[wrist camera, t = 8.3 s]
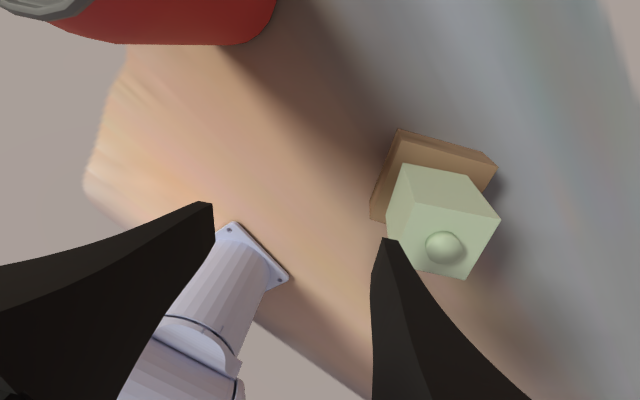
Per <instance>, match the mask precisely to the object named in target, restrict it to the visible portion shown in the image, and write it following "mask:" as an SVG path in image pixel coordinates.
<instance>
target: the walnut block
mask: <svg viewBox="0 0 640 400" xmlns="http://www.w3.org/2000/svg"><path fill="white" fill-rule="evenodd" d="M402 163H408V164H413V165H418V166H423V167H428V168H433V169H438V170H443V171H448V172H453V173H458V174H463V175H467V176H468V177H469V178H470V180H471V181H472V182H473V184H474V185H475V186H476V188H477V189H478V190H479V191H480V193H481V194H482V193H483V191H484V189H485V188H486V186H487V185H488V183H489V181H490V180H491V178H492V177H493V175H494V174H495V172H496V170H497V169H498V166H497V165H496V164H495V163H494V162H492V161H491V160H490V159H489V158H488V157H487V156H486V155H485V154H484V153H483V152H480V151H477V150H473V149H469V148H466V147H462V146H459V145H455V144H452V143H448V142H444V141H441V140H437V139H434V138H430V137H427V136H423V135H420V134H416V133H412V132H409V131H405V130H402V129H397V131H396V134H395V136H394V139H393V142H392V144H391V147H390V149H389V152H388V154H387V157H386V160H385V162H384V165H383V167H382V170H381V172H380V175H379V178H378V180H377V183H376V185H375V188H374V191H373V193H372V196H371V198H370V219H371V220H374V221H378V222H381V223H385V224H386V216H385V215H386V212H387V209H388V206H389V203H390V200H391V197H392V194H393V191H394V188H395V185H396V181H397V178H398V175H399V172H400V169H401V166H402Z"/></svg>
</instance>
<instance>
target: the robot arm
mask: <svg viewBox="0 0 640 400" xmlns="http://www.w3.org/2000/svg"><path fill="white" fill-rule="evenodd" d="M229 228H230V229H232V230H230V229H229ZM279 278H280V279H279ZM288 279H289V275H288V273H287V272H286V271H285V270H284V269H283V268H282V267H281V266H280V265H279V264H278V263H277V262H276V261H275V260H274V259H273V258H272V257H271V256H270V255H269V254H268V253H267V252H266V251H265V250H264V249H263V248H262V247H261V246H260V245H259V244H258V243H257V242H256V241H255V240H254V239H253V238H252V237H251V236H250V235H249V234H248V233H247V232H246V231H245V230H244V229H243V228H242V227H241V226H240V225H239V224H238V223H237V222H235V221H232V222H230V223H228V224H227V225H225V226H224V227H222V228H221V229H220V230H218V231H217V232H215V227H214V217H213V206H212V203H206V202H201V201H197V202H194V203H192V204H189V205H187V206H185V207H182V208H180V209H178V210H175V211H173V212H171V213H169V214H166V215H164V216H162V217H160V218H157V219H155V220H153V221H150V222H148V223H146V224H143V225H141V226H138V227H136V228H133V229H131V230H128V231H125V232H123V233H121V234H118V235H115V236H112V237H109V238H106V239H103V240H100V241H97V242H94V243H91V244H88V245H85V246H81V247H78V248H74V249H71V250H67V251H63V252H59V253H55V254H51V255H48V256H44V257H40V258H35V259H30V260H26V261H22V262H17V263H12V264H7V265H3V266H0V400H245V388H244V383H243V381H242V380H241V379H239V378H237V375H238V372H239V370H240V368H241V365H242V361H240V360H238V359H237V356H238V353H239V351H240V349H241V347H242V344H243V342H244V339H245V337H246V335H247V332H248V330H249V328H250V325H251V323H252V320H253V318H254V316H255V313H256V311H257V308H258V306H259V304H260V301H261V299H262V296H263V294H264V292H266V291H268V290H270V289H272V288H274V287H276V286H278V285H281V284H283V283H285V282H287V281H288ZM370 310H371V327H372V343H373V383H372V400H531V399H530V398H529V397H528V396H527V395H525V394H524V393H523V392H522V391H521V390H520V389H519V388H517V387H516V386H515V385H514V384H513V383H512V382H511V381H510V380H509V379H508V378H507V377H505V376H504V375H503V374H502V373H501V372H500V371H499V370H498V369H497V368H496V367H495V366H494V365H493V364H492V363H491V362H490V361H489V360H488V359H487V358H485V357H484V356H483V355H482V354H481V352H480V351H479V350H478V349H477V348H476V347H475V346H474V345H473V344H472V343H471V342H470V341H469V340H468V339H467V338H466V337H465V336H464V335H463V333H462V332H461V331H460V330H459V329H458V328H457V327H456V325H455V324H454V323H453V322H452V321H451V320H450V318H449V317H448V316H447V315H446V314H445V312H444V311H443V310H442V309H441V307H440V306H439V305H438V303H437V302H436V301H435V299H434V298H433V296H432V295H431V294H430V292H429V291H428V289H427V288H426V286H425V285H424V283H423V282H422V280H421V279H420V277H419V276H418V274H417V272H416V271H415V269H414V267H413V266H412V264H411V262H410V261H409V259H408V257H407V255H406V254H405V252H404V250H403V248H402V247H401V245H400V243H399V241H398V240H394V239H389V238H384V237H382V240H381V244H380V247H379V250H378V253H377V257H376V260H375V263H374V266H373V270H372V273H371V284H370Z"/></svg>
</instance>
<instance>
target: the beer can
mask: <svg viewBox="0 0 640 400" xmlns="http://www.w3.org/2000/svg"><path fill="white" fill-rule="evenodd" d="M276 1H277V0H0V7H2V8H4V9H6V10H8V11H9V12H11V13H13V14H14V15H18V16H23V17H27V18H32V19H37V20H41V21H46V22H48V23H50V24H52V25H54V26H56V27H58V28H61V29H63V30H65V31H67V32H69V33H73V34H77V35H80V36H83V37H87V38H91V39H95V40H100V41H105V42H109V43H114V44H159V45H235V44H240V43H246V42H247V41H249V40H251V39H252V38H254V37H255V36H257V35H259V34H260V32H261V31H262V30H263V28H264V27H265V26H266V24H267V23H268V22H269V20H270V18H271V15H272V13H273V10H274V7H275V4H276Z"/></svg>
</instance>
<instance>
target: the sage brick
mask: <svg viewBox="0 0 640 400" xmlns="http://www.w3.org/2000/svg"><path fill="white" fill-rule="evenodd" d="M385 216H386V225H387V233H388V238H389V239H394V240H398V241H399V243H400V245H401V247H402V248H403V250H404V252H405V254H406V255H407V257H408V259H409V261H410V262H411V264H412V266H413V267H414V269H415V270H419V271H424V272H429V273H433V274H438V275H442V276H447V277H452V278H456V279H461V280H466V278H467V276H468V275H469V273H470V271H471V270H472V268H473V266H474V265H475V263H476V261H477V260H478V258H479V256H480V255H481V253H482V251H483V250H484V248H485V246H486V245H487V243H488V241H489V240H490V238H491V236H492V235H493V233H494V231H495V230H496V228H497V226H498V225H499V223H500V221H501V219H500V217H499V216H498V215H497V214H496V212H495V211H494V210H493V208H492V207H491V206H490V204H489V203H488V202H487V201H486V199H485V198H484V197H483V195H482V194H481V193H480V191H479V190H478V189H477V188H476V186H475V185H474V184H473V182H472V181H471V180H470V178H469V177H468V176H467V175H463V174H458V173H453V172H448V171H443V170H438V169H433V168H428V167H423V166H418V165H413V164H408V163H402V166H401V169H400V172H399V175H398V178H397V181H396V185H395V188H394V191H393V194H392V197H391V200H390V203H389V206H388V209H387V212H386V215H385Z"/></svg>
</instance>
